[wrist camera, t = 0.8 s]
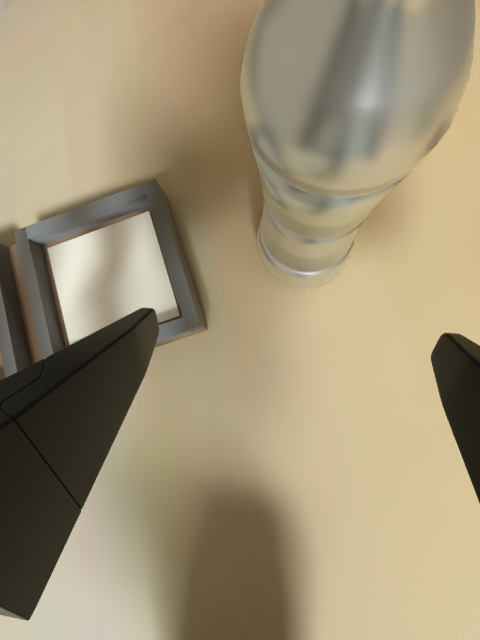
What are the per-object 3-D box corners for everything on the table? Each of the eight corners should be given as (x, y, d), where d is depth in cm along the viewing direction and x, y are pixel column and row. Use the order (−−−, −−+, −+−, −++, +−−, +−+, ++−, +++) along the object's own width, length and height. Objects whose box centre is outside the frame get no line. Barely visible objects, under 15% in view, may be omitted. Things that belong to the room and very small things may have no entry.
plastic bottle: (291, 312, 23) (435, 13, 3) (241, 245, 24) (107, -292, 4) (360, 263, 23) (954, -360, 3) (306, 199, 24) (483, -568, 4)
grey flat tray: (166, 196, 25) (134, 146, 19) (207, 329, 23) (186, 319, 17) (-104, 295, 27) (-211, 277, 21) (-85, 428, 25) (-197, 450, 19)
